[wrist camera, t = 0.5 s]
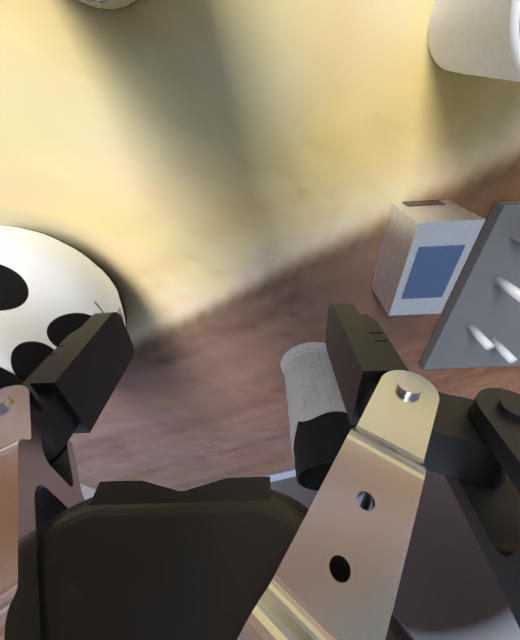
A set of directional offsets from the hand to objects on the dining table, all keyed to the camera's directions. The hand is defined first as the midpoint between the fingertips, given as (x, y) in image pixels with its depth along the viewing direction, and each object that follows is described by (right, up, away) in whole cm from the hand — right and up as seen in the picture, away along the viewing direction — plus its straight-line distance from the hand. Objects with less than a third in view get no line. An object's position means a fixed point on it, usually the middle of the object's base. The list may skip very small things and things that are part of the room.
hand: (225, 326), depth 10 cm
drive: (+16, +8, +17) cm, 25 cm away
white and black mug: (+11, -5, +27) cm, 30 cm away
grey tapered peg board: (+31, +3, +21) cm, 37 cm away
